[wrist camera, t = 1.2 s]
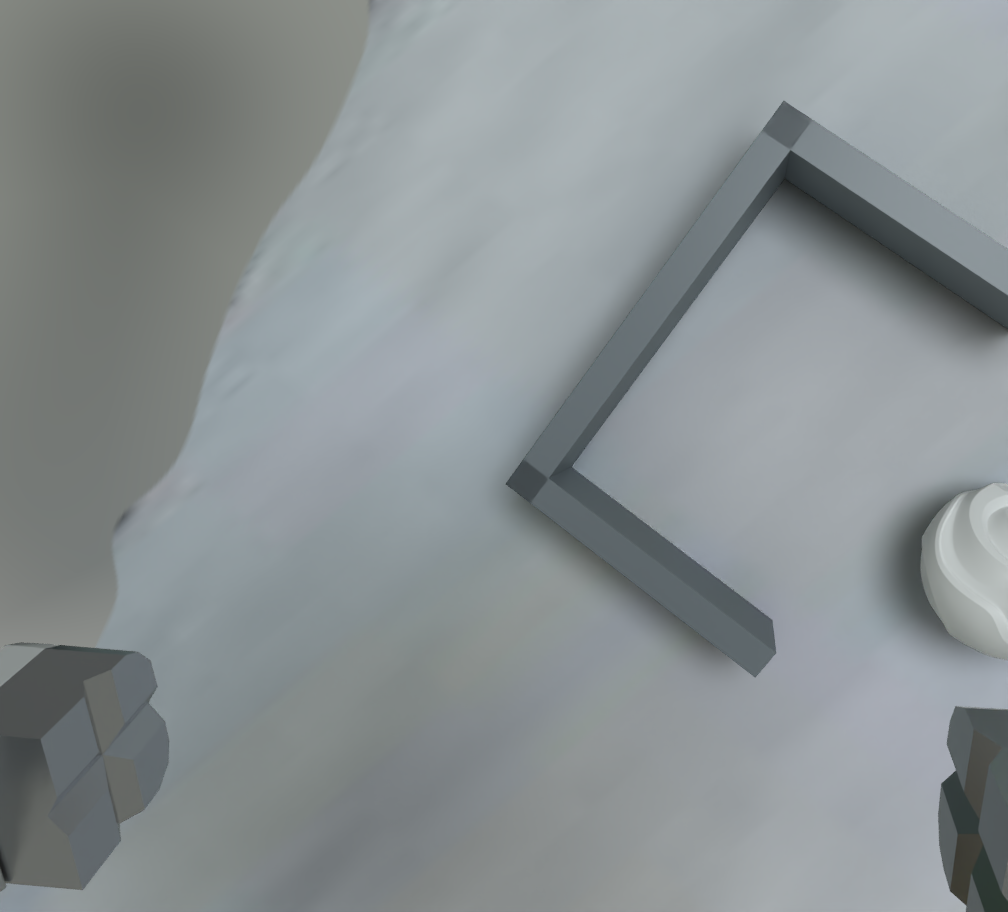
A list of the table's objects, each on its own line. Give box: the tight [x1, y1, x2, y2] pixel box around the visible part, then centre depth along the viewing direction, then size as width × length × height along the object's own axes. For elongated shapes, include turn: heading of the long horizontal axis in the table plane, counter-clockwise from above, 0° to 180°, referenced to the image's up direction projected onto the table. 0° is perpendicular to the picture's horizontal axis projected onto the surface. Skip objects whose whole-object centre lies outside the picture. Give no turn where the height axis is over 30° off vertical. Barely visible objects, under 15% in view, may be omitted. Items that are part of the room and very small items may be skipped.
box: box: [506, 101, 1008, 677], centre depth 45 cm, size 14×21×6 cm
